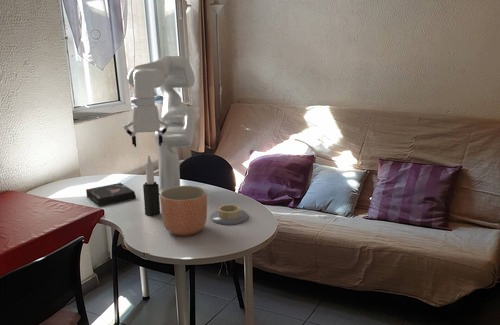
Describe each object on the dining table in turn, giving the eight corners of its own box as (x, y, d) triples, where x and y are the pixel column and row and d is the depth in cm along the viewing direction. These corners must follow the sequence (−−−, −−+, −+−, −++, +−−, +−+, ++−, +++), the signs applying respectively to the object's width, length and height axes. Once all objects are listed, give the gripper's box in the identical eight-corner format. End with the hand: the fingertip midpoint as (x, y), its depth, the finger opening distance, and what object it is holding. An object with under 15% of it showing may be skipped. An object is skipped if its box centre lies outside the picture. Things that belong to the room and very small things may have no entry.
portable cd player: (136, 199, 203) (135, 191, 202) (99, 207, 194) (98, 198, 192) (122, 190, 216) (121, 182, 215) (87, 197, 206) (86, 189, 205)
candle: (154, 210, 188) (150, 153, 181) (161, 213, 184) (157, 155, 178) (144, 214, 184) (139, 155, 178) (150, 217, 181) (146, 157, 174)
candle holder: (208, 212, 185) (207, 203, 184) (243, 209, 188) (243, 200, 187) (213, 226, 171) (213, 216, 170) (251, 222, 174) (251, 213, 173)
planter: (168, 243, 157) (166, 203, 153) (158, 226, 172) (155, 189, 168) (214, 235, 163) (213, 196, 159) (200, 219, 178) (198, 183, 174)
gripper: (121, 104, 167) (124, 148, 171) (168, 102, 171) (170, 146, 175) (122, 102, 174) (125, 145, 178) (167, 100, 178) (169, 142, 182)
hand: (147, 145), depth 176 cm, fingers open, 9 cm apart
